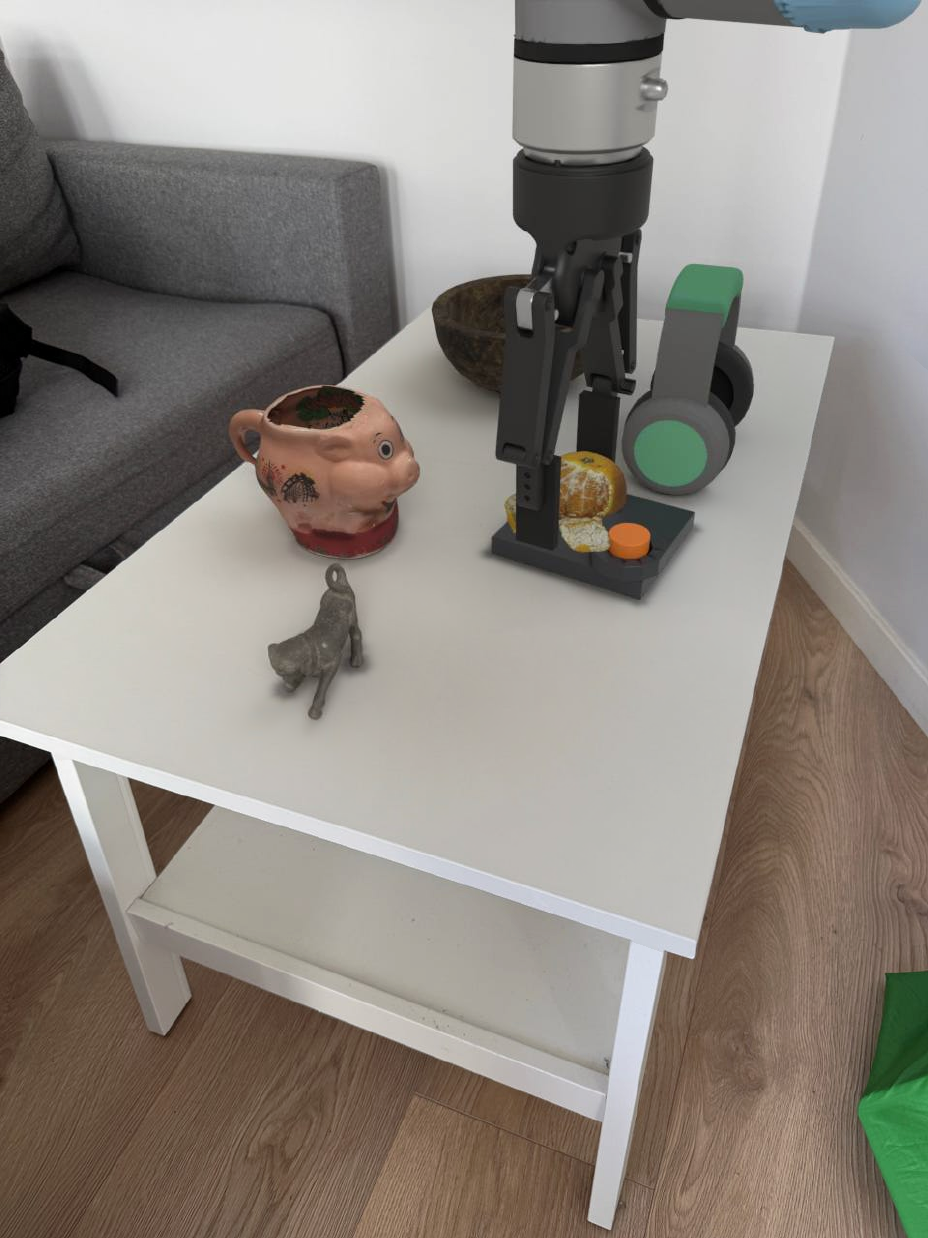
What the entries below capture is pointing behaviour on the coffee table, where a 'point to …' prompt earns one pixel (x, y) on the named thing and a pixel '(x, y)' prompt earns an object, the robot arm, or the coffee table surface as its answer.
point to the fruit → (584, 500)
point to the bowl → (480, 328)
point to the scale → (603, 567)
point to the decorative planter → (331, 467)
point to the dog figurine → (321, 641)
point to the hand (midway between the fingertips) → (566, 509)
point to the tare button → (629, 541)
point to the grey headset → (692, 386)
